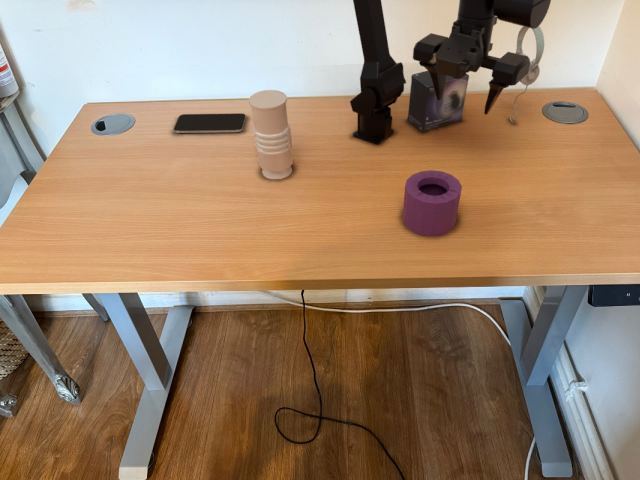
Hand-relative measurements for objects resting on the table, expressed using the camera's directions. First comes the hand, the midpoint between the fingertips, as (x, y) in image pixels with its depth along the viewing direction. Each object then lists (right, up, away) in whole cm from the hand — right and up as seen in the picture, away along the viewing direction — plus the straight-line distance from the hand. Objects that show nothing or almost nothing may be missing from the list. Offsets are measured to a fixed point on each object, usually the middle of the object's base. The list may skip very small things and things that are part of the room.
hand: (462, 106), depth 94 cm
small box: (-1, +4, +22) cm, 23 cm away
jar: (-6, -20, -1) cm, 21 cm away
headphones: (+16, +4, +21) cm, 27 cm away
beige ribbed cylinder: (-34, -9, +11) cm, 37 cm away
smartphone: (-50, +4, +24) cm, 56 cm away
